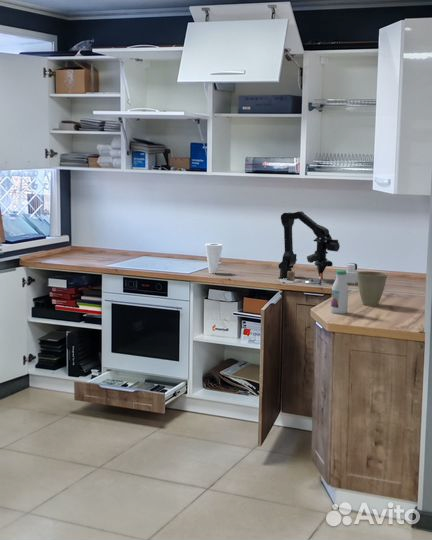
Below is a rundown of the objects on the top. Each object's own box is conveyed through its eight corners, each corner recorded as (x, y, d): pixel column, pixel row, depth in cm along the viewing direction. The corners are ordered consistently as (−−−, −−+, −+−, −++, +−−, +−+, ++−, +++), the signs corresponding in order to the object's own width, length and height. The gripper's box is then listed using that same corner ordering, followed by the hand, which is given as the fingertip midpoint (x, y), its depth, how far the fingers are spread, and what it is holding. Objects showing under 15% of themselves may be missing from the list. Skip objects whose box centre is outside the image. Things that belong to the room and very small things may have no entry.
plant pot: (364, 300, 401) (365, 270, 399) (390, 304, 392) (392, 273, 390) (349, 304, 390) (351, 273, 387) (376, 308, 380) (378, 276, 378)
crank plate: (296, 284, 448) (296, 277, 447) (310, 281, 458) (310, 275, 458) (319, 287, 438) (319, 280, 437) (333, 285, 448) (333, 278, 447)
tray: (279, 282, 452) (279, 279, 452) (289, 281, 459) (289, 278, 459) (292, 284, 446) (292, 281, 446) (301, 283, 453) (301, 280, 453)
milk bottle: (345, 311, 372) (347, 269, 369) (348, 314, 364) (351, 272, 361) (329, 310, 372) (331, 269, 369) (332, 313, 364) (334, 271, 361)
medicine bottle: (347, 282, 462) (348, 262, 460) (358, 283, 458) (360, 263, 456) (343, 283, 455) (344, 263, 454) (354, 285, 452) (355, 264, 450)
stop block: (286, 282, 451) (287, 272, 450) (287, 281, 455) (288, 271, 454) (293, 282, 450) (294, 272, 449) (294, 281, 454) (294, 271, 453)
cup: (201, 272, 482) (202, 243, 479) (217, 271, 486) (218, 243, 484) (208, 275, 472) (209, 245, 470) (224, 274, 477) (225, 245, 474)
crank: (310, 284, 443) (311, 275, 442) (300, 281, 450) (300, 273, 449) (327, 282, 450) (327, 274, 449) (317, 280, 457) (317, 271, 456)
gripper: (302, 247, 458) (300, 273, 461) (316, 252, 441) (314, 279, 443) (319, 247, 461) (317, 272, 464) (333, 252, 444) (332, 278, 447)
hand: (320, 276), depth 455 cm, fingers closed
